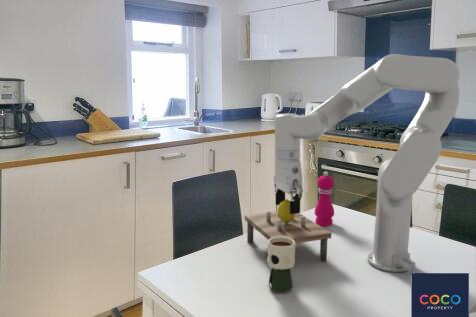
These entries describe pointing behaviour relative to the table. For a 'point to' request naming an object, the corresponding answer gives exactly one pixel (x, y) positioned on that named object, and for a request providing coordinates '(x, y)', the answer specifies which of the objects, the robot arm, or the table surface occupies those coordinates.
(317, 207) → the pepper mill
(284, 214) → the lemon
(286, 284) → the character mug
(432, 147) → the robot arm
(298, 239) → the peg shelf
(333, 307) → the table surface
